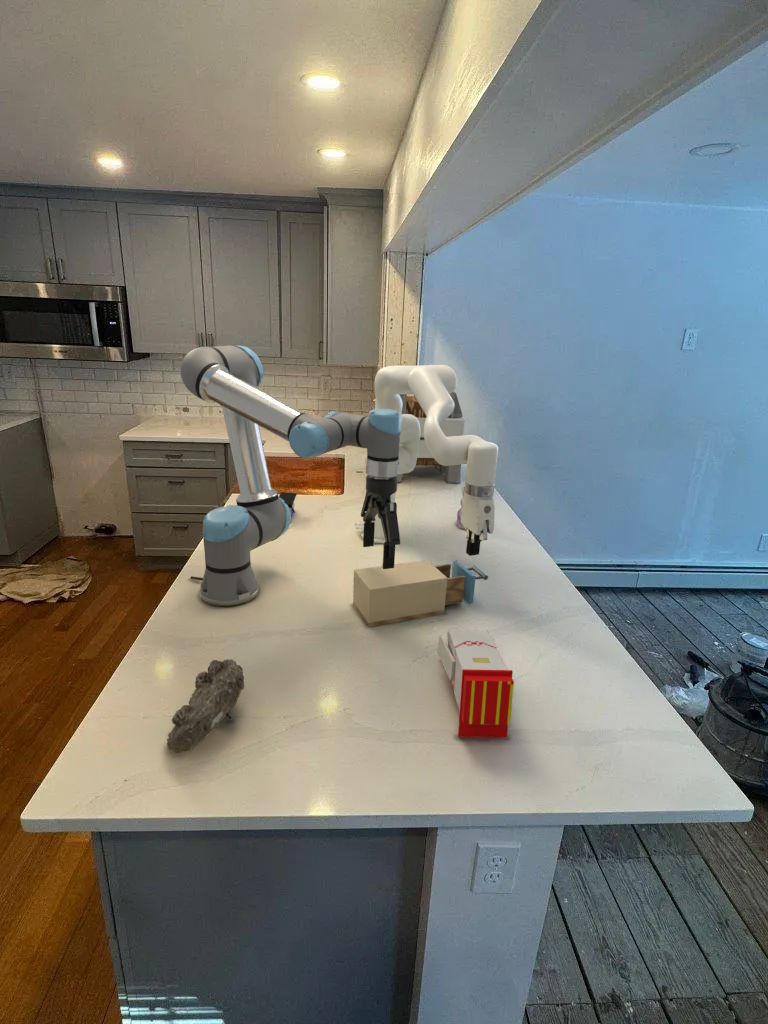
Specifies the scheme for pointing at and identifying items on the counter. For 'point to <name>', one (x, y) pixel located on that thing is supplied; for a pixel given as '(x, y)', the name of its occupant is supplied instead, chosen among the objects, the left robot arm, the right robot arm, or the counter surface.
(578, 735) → the counter surface
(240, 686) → the fossil
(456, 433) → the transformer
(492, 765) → the counter surface
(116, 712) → the counter surface
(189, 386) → the left robot arm
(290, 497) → the figurine character
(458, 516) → the figurine
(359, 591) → the tan storage bin
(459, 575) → the drawer
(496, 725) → the toy
